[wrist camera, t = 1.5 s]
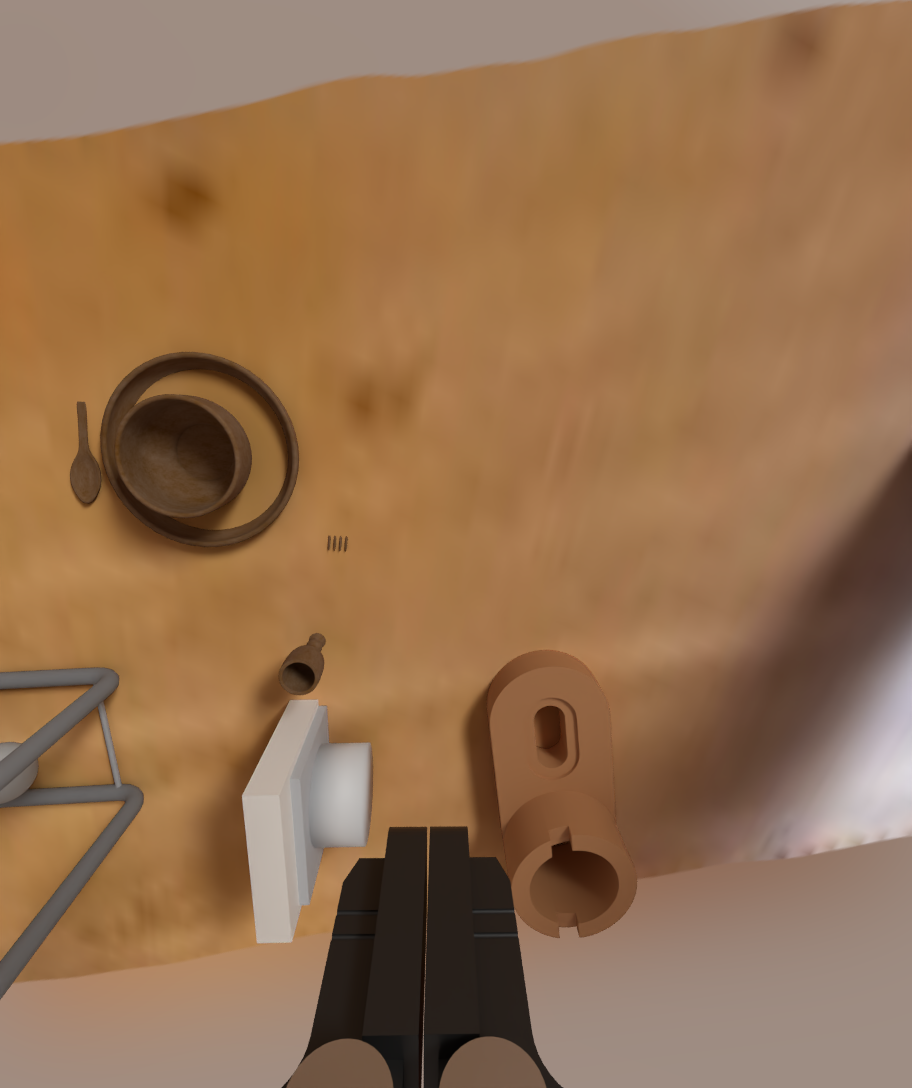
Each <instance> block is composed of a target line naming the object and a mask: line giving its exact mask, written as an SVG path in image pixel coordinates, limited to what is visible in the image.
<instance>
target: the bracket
mask: <svg viewBox="0 0 912 1088" xmlns="http://www.w3.org/2000/svg"><path fill="white" fill-rule="evenodd" d="M545 706H556V707H558V708H559V720H560V732H561V737H560V740H559V742H558V743H557V744H556V745H555V746H553V747H551V748H546V749H544V748H540V747H538V746H536V739H535V729H534V716H535V714H536V713H537V711H538V710H539V709H541V708H542V707H545ZM487 715H488V723H489V732H490V740H491V749H492V757H493V766H494V774H495V783H496V791H497V800H498V808H499V817H500V824H501V831H502V837H503V844H504V850H505V857H506V863H507V870H508V876H509V879H510V882H511V889H512V896H513V903H514V907H515V909H516V911H517V913H518V915H519V916H520V917H521V919H522V920H523V921H524V922H525V923H526V924H527V925H528V926H530V927H531V928H533V929H534V930H536V931H538V932H540V933H542V934H545V935H548V936H551V937H556V938H560V936H559V927H574V926H577V930H578V933H579V937H586V936H590V935H593V934H596V933H599V932H601V931H603V930H605V929H607V928H609V927H610V926H612V925H613V924H615V923H616V922H617V921H618V920H619V919H620V918H621V917H622V916H623V915H624V914H625V913H626V911H627V910H628V909H629V907H630V905H631V904H632V902H633V900H634V897H635V894H636V889H637V875H636V871H635V868H634V865H633V863H632V860H631V858H630V856H629V854H628V851H627V849H626V847H625V844H624V842H623V840H622V837H621V835H620V833H619V830H618V828H617V826H616V809H615V791H614V773H613V755H612V737H611V719H610V708H609V704H608V701H607V699H606V696H605V695H604V693H603V691H602V689H601V687H600V686H599V684H598V682H597V681H596V679H595V677H594V676H593V674H592V673H591V671H590V670H589V669H588V667H587V666H586V665H585V664H583V663H582V662H581V661H580V660H578V659H577V658H575V657H573V656H571V655H569V654H567V653H563V652H560V651H554V650H539V651H533V652H529V653H526V654H523V655H521V656H519V657H517V658H515V659H513V660H512V661H510V662H509V663H507V664H506V665H505V666H504V667H503V668H502V669H501V670H500V671H499V672H498V674H497V675H496V676H495V678H494V680H493V681H492V683H491V686H490V688H489V691H488V695H487ZM566 841H570V842H568V843H566V844H563V845H558V846H553V845H555V844H558V843H561V842H566Z"/></svg>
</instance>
